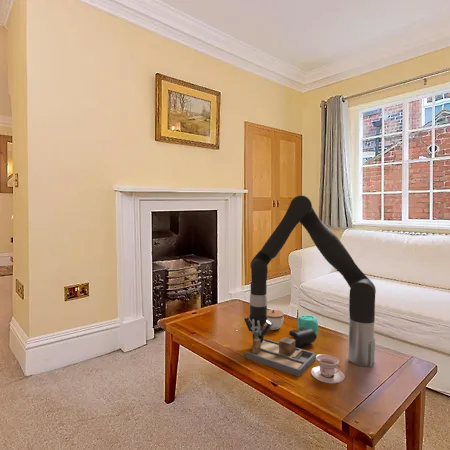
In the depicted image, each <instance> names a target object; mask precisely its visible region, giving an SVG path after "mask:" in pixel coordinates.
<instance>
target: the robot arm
mask: <svg viewBox="0 0 450 450" xmlns="http://www.w3.org/2000/svg"><path fill="white" fill-rule="evenodd" d="M298 224H300V225H302V226H303V228H304V229H305V230H306V232H307V233H308V235H309V236H310V238H311V240H312V242H313V243H314V245H315V247H316V248H317V250H318V251H319V252H320V254H321V255H322V257H323V258H324V259H325V260H326V262H327V263H328V264H329V265H330V266H332V267H333V268H334V269H335V270H336V271H337V272H339V274H340V275H341V276H342V277H343V279H344V280H345V281H346V283H347V285H348V287H349V294H348V295H349V299H348V300H349V302H348V303H349V305H348V306H349V307H348V311H349V324H348V325H349V327H348V359H347V360H348V361H349V362H350V363H352V364H353V365H356V366H360V367H369V368H372V366H373V365H374V363H375V352H376V351H375V349H376V338H375V319H376V317H375V316H376V313H375V311H376V291H377V290H376V286H375V285H374V283H373V281H372V280H370V278H369V277H368V276H367V275H366V274H365V273H364V272H363V271H362V270H361V268H359V266H358V265H357V264H356V262H355V261H354V259H353V258H352V257H353V256H351V255H350V253H349V251H348V250H347V249H346V247H345V245H344V244H343V242H342V241H341V240H340V239H339V238H338V237H337V236H336V234H335V233H334V232H333V231H332V230H331V229H330V228H329V227H328V226H327V225H326V224H325V223H324V222H323V221H322V220H321V219H320V218H319V216H318V214H317V213H316V212H315V210H314V208H313V204H312V201H311V199H310V198H309V197H308V196H306V195H302V194H301V195H297V196H295V197H294V198H293V199H292V200H291V201H290V203H289V206H288V208H287V210H286V213H284V216H283V218H282V219H281V221H280V222H279V223H278V225H277V227H276V228H275V229H274V231H273V232H272V233H271V235H270V236H269V237H268V238H267V240H266V242H265V243H264V244H263V246H262V247H261V249H260V250H259V251H258V252H257V254H255V255H254V257H253V258H252V259H251V262H250V271H251V272H250V273H251V274H250V275H251V282H250V295H249V316H246V317H245V318H244V322H245V324H246V327H247V329H248V331H249V332H252V341H253V340H254V332H255V331H256V330H259V339H261V343H262V342H263V341H264V339H265V338H264V336H265V335H267V334H268V333H269V331H271V330H270V328H271V326H272V322H271V323H270V322H269V321H267V317H266V316H267V310H268V297H267V291H268V290H267V288H268V287H267V286H268V285H267V280H268V269H269V267H268V265H269V264H270V263H271V261H272V259H275V258H276V257H277V255H278V254H279V253H280V251H281V250H282V248H283V247H284V245H285V244H286V242H287V241H288V239H289V237H290V236H291V234H292V232H293V231H294V229H295V228H296V227H297V225H298ZM265 323H266V326H265Z"/></svg>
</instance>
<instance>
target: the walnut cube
mask: <svg viewBox="0 0 450 450" xmlns="http://www.w3.org/2000/svg"><path fill="white" fill-rule="evenodd" d="M290 338H291V337H287V336H286V337H285V336H284V337H282V338H281V339H279V340H278V342H279V353H282V354H285V355H288V356H291V355H292V354H293V353H294V352H295V340H294V338H292V339H290Z"/></svg>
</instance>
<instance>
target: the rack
mask: <svg viewBox="0 0 450 450" xmlns="http://www.w3.org/2000/svg"><path fill="white" fill-rule="evenodd" d="M263 341H267V342H270V343H274V344H277V345H279V341H276V340H275V341H274V340H271V339H268V338H264V340H263ZM300 349H302V348H300V347H297V348H296V347H295V350H297V351H298V350H300ZM260 351H263V352H266V353H270V354H273V355H276V356H279V357H282V358H285V359H289V360H292V361H295V362H298V363H301V364H302V366H301V367H300V368H299V369H298V368H295V367H292V366H289V365H286V364H283V363H280V362H277V361H273V360H270V359H267V358H264V357H261V356H258V355H255V354H252V353H253V350H252V351H250V352H249V351H244V359H246V358H247V360H249V359H250V360H249V361H252V360H253V362H255V363H259V364H261V365H264V366H267V367H270V368H273V369H276V370H278V371H281V372H284V373H287V374H290V375H293V376H296V377H301V376H302V375H304V373H305V372H306V370H307V369H309V367H310V366H311V365H312V364H313V363H314V362H315V361H317V359H316V356H317V353H316V352H313V351H310V350H306V349H302V355H301V356H300V357H299V358H298V359H295V358H291V357H288V356H285V355H282V354H279V353H275V352H272V351H269V350H266V349H263V348H261V349H260Z"/></svg>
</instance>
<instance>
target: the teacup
mask: <svg viewBox="0 0 450 450" xmlns="http://www.w3.org/2000/svg"><path fill="white" fill-rule="evenodd" d="M316 362H317V363H318V365H317V366H314V367H312V368H311V369H310V374H311V376H312V377H313V378H314V379H316V380H317V381H319V382H322V383H326V384H340V383H342V382H344V380H345V377H346V376H345V374H344V372H342V370H341V366H340V365H339V363H340V360H339V358H337V357H335V356H334V355H330V354H326V353H321V354H320V353H319V354H316ZM332 376H333V377H332Z"/></svg>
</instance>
